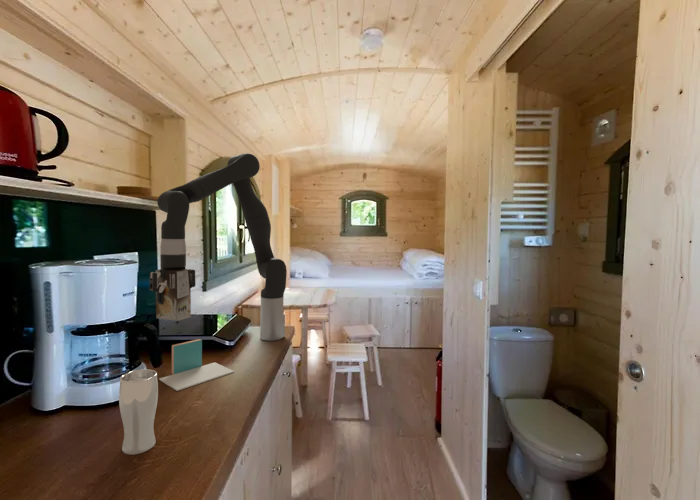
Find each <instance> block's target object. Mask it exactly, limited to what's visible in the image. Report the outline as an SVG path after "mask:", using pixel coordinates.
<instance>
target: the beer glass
mask: <svg viewBox="0 0 700 500" xmlns="http://www.w3.org/2000/svg"><path fill="white" fill-rule="evenodd" d="M158 384H159V383H158V372H157V371H156V370H154V369H149V368H148V369H146V368H145V369H136V370H132V371H129V372H126V373H124V374H122V375H121V376H120V378H119V389H118V390H119V391H118V393H119V394H118V403H119V405H118V406H119V411H120V417H121V421H122V427H123V433H124V434H123V442H122V447H121V451H122V453H123V454H125V455H129V456H130V455H132V456H133V455H139V454H143V453H145V452H147V451H149V450H150V449H152V448H153V447H154V446H155V445H156V442H157V440H156V436H155V430H154V424H155V416H156V411H157V406H158V400H159V385H158Z"/></svg>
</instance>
